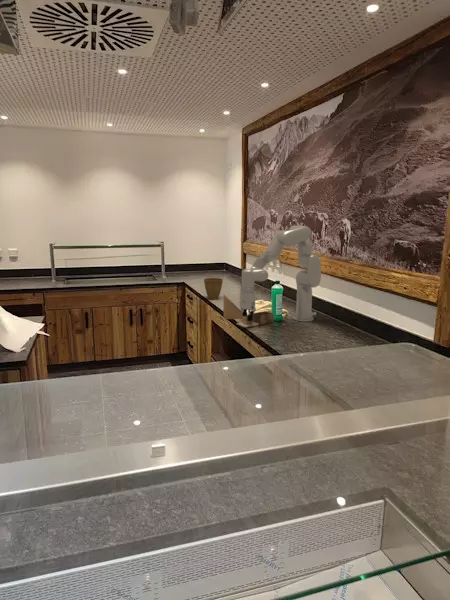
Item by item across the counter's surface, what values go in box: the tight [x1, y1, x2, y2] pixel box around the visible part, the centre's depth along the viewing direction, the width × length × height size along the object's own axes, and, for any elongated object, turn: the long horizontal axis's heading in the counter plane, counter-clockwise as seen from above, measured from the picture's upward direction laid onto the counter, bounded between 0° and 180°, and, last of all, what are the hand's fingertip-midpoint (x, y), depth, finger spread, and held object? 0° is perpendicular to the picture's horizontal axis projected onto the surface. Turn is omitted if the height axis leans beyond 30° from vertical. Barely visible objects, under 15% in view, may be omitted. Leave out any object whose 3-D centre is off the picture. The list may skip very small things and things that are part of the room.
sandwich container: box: [223, 294, 243, 320], centre depth 273 cm, size 9×15×15 cm, turn 98°
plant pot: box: [203, 277, 224, 301], centre depth 332 cm, size 15×15×16 cm
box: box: [253, 310, 274, 326], centre depth 259 cm, size 10×8×6 cm
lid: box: [235, 314, 260, 328], centre depth 253 cm, size 11×9×6 cm
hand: (247, 319), depth 253 cm, fingers open, 4 cm apart
